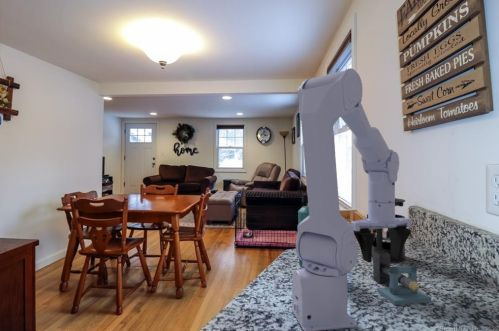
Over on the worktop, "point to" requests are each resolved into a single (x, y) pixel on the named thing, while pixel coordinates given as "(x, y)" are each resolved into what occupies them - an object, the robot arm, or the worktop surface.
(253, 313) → the worktop surface
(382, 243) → the french press
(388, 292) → the eye bracket
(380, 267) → the hook rod
